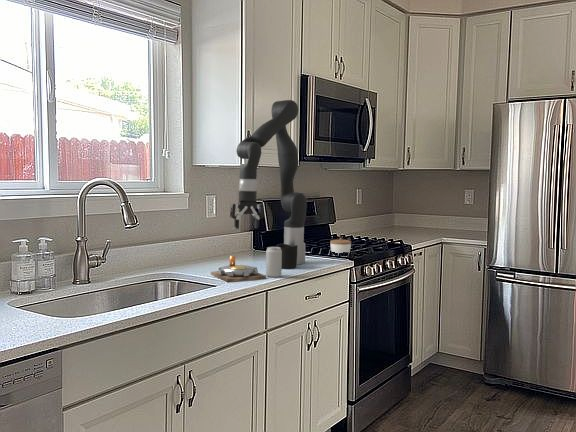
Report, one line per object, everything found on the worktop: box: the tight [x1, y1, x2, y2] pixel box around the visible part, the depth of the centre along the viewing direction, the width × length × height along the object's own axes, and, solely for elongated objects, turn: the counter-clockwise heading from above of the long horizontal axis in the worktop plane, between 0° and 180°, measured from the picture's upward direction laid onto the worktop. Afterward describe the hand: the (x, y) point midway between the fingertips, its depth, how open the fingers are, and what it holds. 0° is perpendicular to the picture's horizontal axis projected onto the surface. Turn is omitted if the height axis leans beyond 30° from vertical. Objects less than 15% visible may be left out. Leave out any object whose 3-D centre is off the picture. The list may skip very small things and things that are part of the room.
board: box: [210, 270, 267, 283], centre depth 225 cm, size 17×17×1 cm
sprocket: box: [218, 255, 259, 276], centre depth 225 cm, size 16×16×6 cm
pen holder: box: [276, 243, 298, 270], centre depth 248 cm, size 9×9×10 cm
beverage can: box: [265, 246, 283, 279], centre depth 226 cm, size 6×6×12 cm
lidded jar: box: [330, 237, 352, 253], centre depth 284 cm, size 11×11×9 cm
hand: (246, 228), depth 232 cm, fingers open, 8 cm apart
